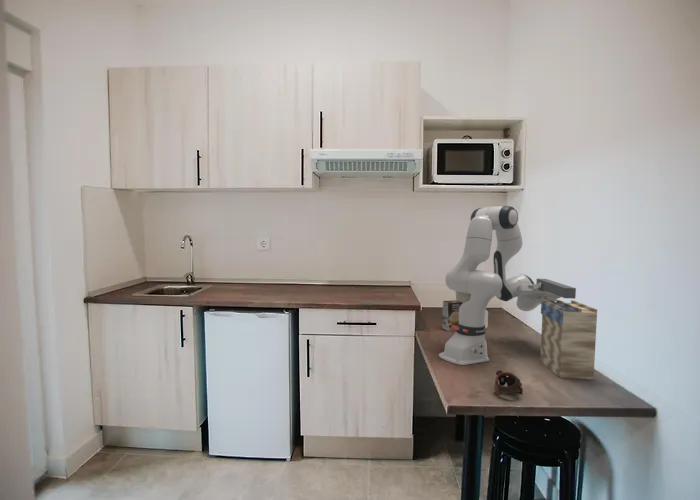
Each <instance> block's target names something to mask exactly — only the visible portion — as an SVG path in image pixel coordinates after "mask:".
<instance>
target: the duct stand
mask: <svg viewBox="0 0 700 500" xmlns="http://www.w3.org/2000/svg"><path fill="white" fill-rule="evenodd" d="M540 305H541V306H540V314H541V338H540V355H539V356H540V358H539V359H540V360H539V361H540V362H541V363H542V364H543V365H544V366H546V367H547V368H548V369H549V370H550V371H552V372H553V373H554V374H556V376H558V378H561V379H576V378H586V379H585V380H594V377H595V360H596V359H595V358H596V357H595V356H596V342H597V341H596V340H597V321H598V309H596V308H594V307H592V306H589V305H587V304H585V303H582V302H578V301H577V300H573V299H571V300H570V302H565V301H563V300H561V299H557V300H556V301H555V302H549V301H547V300H545V299H543V302H541V304H540Z"/></svg>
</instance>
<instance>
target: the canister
mask: <svg viewBox="0 0 700 500" xmlns="http://www.w3.org/2000/svg"><path fill="white" fill-rule="evenodd" d="M470 298H471V294H468V293H462V292H457V291H455V300H457V301H460V302H463V303H465V302H467V301H470Z"/></svg>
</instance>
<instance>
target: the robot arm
mask: <svg viewBox="0 0 700 500" xmlns="http://www.w3.org/2000/svg"><path fill="white" fill-rule="evenodd" d="M518 221H519V213H518V211H517V210H516V209H515V207H514V206H510V205H503V206H502V205H500V206H499V205H497V206H493V205H492V206H485V207H478V208H477V209H474V210H473V211H472V213H471V214H470V223H469V225H468V229H467V232H466V237H465V243H464V249H463V253H462V257H461V258H460V260H459V261H458V263H457V264H456V265H455V266H454V267H453V268H451V269H450V270H448V272H447V273H446V274H445V285H446V287H447V288H448V289H449V290H452V291H454V292H456V291H457V292H462V293H468V294H471V298H470V301H467V302H465V303H463V304H462V305H461V306H460V308H459V323H458V325H457V326H455V325H453V326H452V329H453V330H455V332H454V333H453V335H452V336H451V337H450V338H449V339H448V340H447V341H446V343H445V345H444V351H442V352H440V353H438V357H439V358H440V359H442V360H444V361H446V362H448V363H451V364H454V365H460V366H467V365H472V364H478V363H484V362H489V361H490V358H489V356H488V347H487V346H488V345H487V340H486V337H485V334H486V329H487V328H485V325H484V321H485V310H487V306H488V304H489V303H490V301H491V300H492V299H494V298H495V297H496V298H497V299H499V300H500V301H503V302H508V301H510V300H513V299H515V298H517V299H516V307H517V308H518V309H519V310H520V311H523V312H530V311H533V310H535V309H536V308H537V307H538V306H540V305H541V302H543V299H545V300H547V301H549V302H556V300H559V299H562V297H560V296H557V295H555V294H552V293H550V292H547V291H545V290H542V289H540V288H542V287H543V283H538V284H535V282H534V281H533V279H532V278H531V277H530V276H528V275H526V274H525V273H524V274H523V273H520V274H517V275H515V276H512V277H510V278H507V279H506V266H507V264H508V262H509V261H510V260H511V259H512V258H513V257H514V256H516V255H517V253H519V252H520V251H521V249H522V247H523V238H522V231H521V230H520V226H519V224H518ZM493 231H495V237H496V242H497V243H496V244H497V245H496V249H495V252H493V272H491V271H487V270H481V269H479V270H478V267H479V265H481V264H482V263H484V262H486V261H487V260H489V258H490V256H491V247H492V242H493V241H492V240H493Z"/></svg>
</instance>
